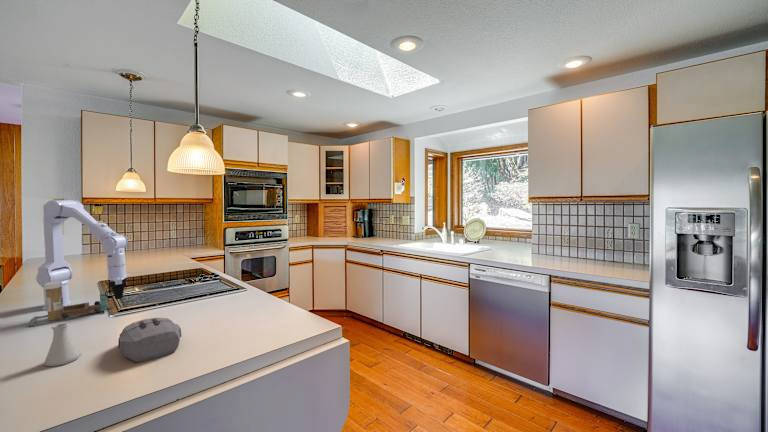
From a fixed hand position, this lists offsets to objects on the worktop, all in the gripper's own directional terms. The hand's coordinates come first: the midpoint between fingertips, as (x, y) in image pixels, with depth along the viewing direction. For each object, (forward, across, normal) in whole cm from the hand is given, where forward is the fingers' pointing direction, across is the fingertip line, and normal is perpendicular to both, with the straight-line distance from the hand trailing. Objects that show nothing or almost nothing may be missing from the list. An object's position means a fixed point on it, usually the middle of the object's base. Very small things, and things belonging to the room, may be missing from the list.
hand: (118, 298), depth 137 cm
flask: (+4, -46, +14) cm, 48 cm away
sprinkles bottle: (+4, 0, +18) cm, 19 cm away
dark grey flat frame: (+3, 0, +15) cm, 15 cm away
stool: (+3, 0, +11) cm, 11 cm away
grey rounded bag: (+4, -52, -5) cm, 53 cm away
